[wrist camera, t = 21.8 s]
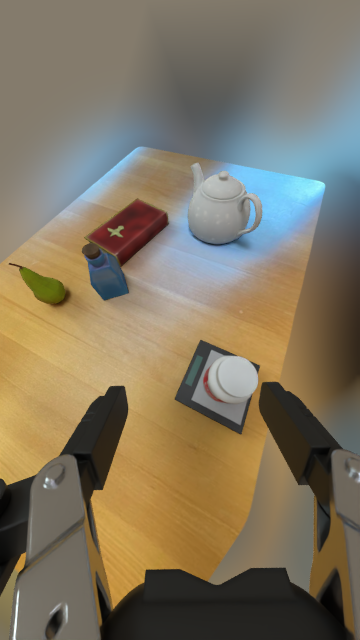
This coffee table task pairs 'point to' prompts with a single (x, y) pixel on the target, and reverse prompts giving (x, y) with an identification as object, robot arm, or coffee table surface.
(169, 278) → the coffee table surface
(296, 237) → the coffee table surface
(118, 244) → the hardcover book
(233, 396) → the pill bottle
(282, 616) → the robot arm
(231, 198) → the teapot
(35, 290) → the fruit
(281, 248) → the coffee table surface
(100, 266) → the perfume bottle
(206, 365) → the scale
